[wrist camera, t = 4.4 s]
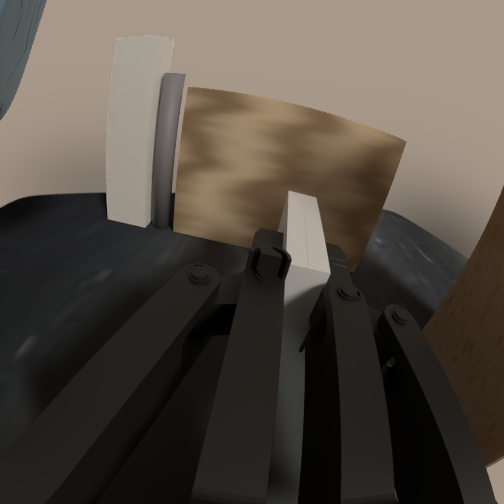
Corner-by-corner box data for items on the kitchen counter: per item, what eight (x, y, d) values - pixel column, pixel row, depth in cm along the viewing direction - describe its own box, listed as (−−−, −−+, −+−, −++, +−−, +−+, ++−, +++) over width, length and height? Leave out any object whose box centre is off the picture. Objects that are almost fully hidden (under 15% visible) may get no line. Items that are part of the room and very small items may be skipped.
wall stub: (107, 219, 23) (116, 38, 14) (120, 208, 25) (132, 40, 16) (163, 231, 23) (186, 35, 14) (173, 219, 25) (196, 40, 16)
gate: (173, 231, 23) (188, 87, 17) (183, 217, 26) (199, 87, 19) (353, 272, 23) (406, 141, 17) (348, 255, 26) (393, 135, 19)
